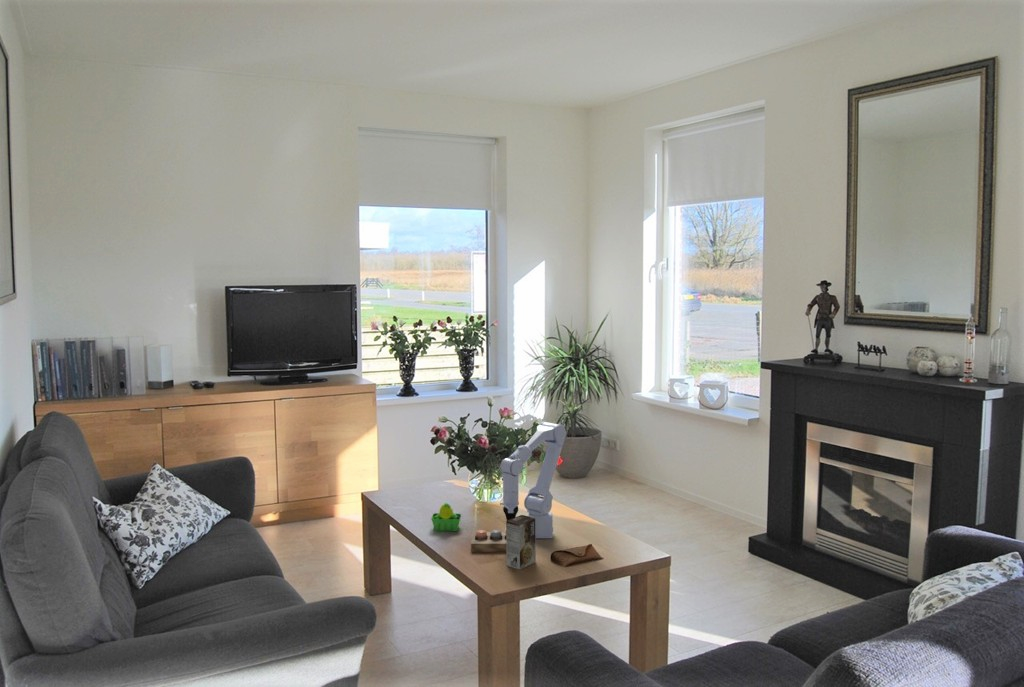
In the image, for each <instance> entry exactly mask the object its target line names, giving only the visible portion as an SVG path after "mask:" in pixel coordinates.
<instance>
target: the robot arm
mask: <svg viewBox="0 0 1024 687" xmlns="http://www.w3.org/2000/svg"><path fill="white" fill-rule="evenodd" d="M566 436H567V431H566V427H565V426H564V425H563V424H562V423H553V422H547V421H544V420H542V422H540V423H539V425H537V426H536V431H535V432H534V434H533V435H532V436H531V438H529V440H528V441H527V443H526V444H523V445H522V444H521V445H518V447H517V449H515V450H514V451H513V453H512V454H511V455H509V457H506V458H504V459H502V460H501V462H500V465H499V470H500V473H501V477H502V501H500V502H499V505H500V506H502V509H503V510H502V511H503V514H504V516H505V518H506V521H508V520H510V519H513V518H515V517H517V514H518V512H519V504H520V502H519V475H520V474H521V472H522V470H523V467H524V464H526V462H528V460H529V459H530V458H531V457H532V454H533V453H532V452H533V451H534V450H535V449H536V448H537V447H539V446H540V445H541V444H542V443H544V444H545V445H546V447H547V448H546V449H547V450H546V452H545V454H544V459H543V462H542V466H541V468H540V471H539V474H538V477H537V480H536V485H535V486H534V487H532V488H530V489H529V491H528V492H527V495H526V496H525V498H524V501H523V505H524V508H525V509H526V512H527V513H528V516H529V517H531V518H535V539H553V536H554V534H553V533H554V527H553V521H554V518H553V512H551V510H552V508H553V506H552V505H553V503H552V502H553V498H554V497H553V494H552V492H550V489H551V485H552V482H553V478H554V475H555V472H556V469H557V466H558V462H559V459H560V455H561V452H562V449H563V446H564V443H565V440H566Z"/></svg>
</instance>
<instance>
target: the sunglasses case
mask: <svg viewBox="0 0 1024 687" xmlns="http://www.w3.org/2000/svg"><path fill="white" fill-rule="evenodd" d="M598 559H599V560H604V557H602V556H601V555H600V554H599V552H598V551H597V550H596V548H595V547H594V546H593V544H592V543H589V544H586V545H582V546H576V547H571V548H566V549H563V550H561V549H560V550H555V551H553V552H552V553H551V554H550V561H551V562H552V563H554V564H556V565H558V566H560V567H562V568H566V567H570V566H573V565H579V564H582V563H587V562H588V563H589V562H592V560H593V561H597V560H598Z"/></svg>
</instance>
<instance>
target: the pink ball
mask: <svg viewBox="0 0 1024 687" xmlns="http://www.w3.org/2000/svg"><path fill="white" fill-rule="evenodd" d="M475 532H476V537H477V538H478V540H485V537H487V532H488V531H487V530H485V529H478V530H475Z"/></svg>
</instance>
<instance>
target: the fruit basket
mask: <svg viewBox="0 0 1024 687" xmlns="http://www.w3.org/2000/svg"><path fill="white" fill-rule="evenodd" d="M461 517H462V514H461V513H454V509H453V508H452V506H451V505H450V504H449V503H448V502H445V503H444V504H442V505H441V507H440V508H439V513H438V512H436V513H435V512H434V513H432V516H431V518H430V519H431V522H432V526H433V530H434V531H440V532H441V531H444V532H445V531H452V532H453V531H454V532H457V531H458V529H459V525H460V521H461Z"/></svg>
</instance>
